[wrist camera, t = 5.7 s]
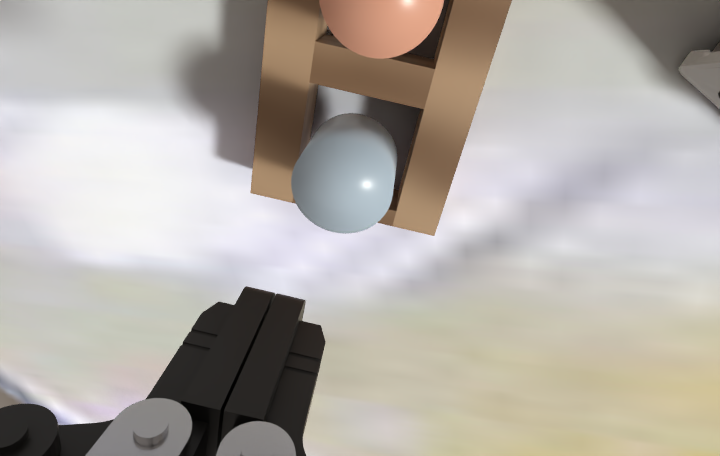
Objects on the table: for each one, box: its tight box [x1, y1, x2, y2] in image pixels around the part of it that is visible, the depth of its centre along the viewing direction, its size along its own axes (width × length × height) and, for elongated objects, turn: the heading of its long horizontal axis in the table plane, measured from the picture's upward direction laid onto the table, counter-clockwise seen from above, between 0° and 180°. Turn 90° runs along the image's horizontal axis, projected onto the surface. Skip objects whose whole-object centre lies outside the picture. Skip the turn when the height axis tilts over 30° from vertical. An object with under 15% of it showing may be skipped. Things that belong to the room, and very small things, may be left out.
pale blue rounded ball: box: [291, 113, 397, 233], centre depth 23 cm, size 5×5×5 cm
